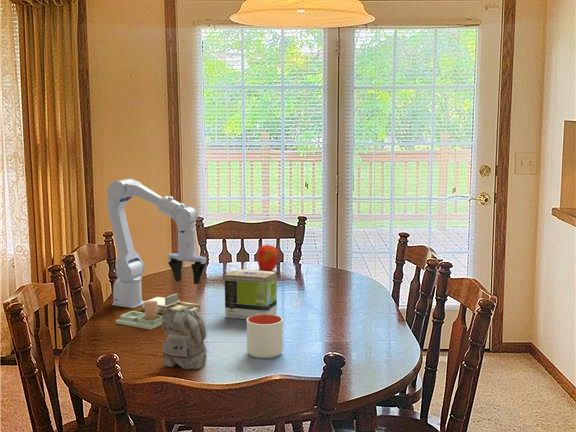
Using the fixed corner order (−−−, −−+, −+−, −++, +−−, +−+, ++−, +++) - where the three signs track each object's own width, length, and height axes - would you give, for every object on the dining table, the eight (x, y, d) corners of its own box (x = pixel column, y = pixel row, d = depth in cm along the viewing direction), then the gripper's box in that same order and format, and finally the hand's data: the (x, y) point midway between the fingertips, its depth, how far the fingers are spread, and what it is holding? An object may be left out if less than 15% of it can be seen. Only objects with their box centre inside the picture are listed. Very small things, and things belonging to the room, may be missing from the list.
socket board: (115, 323, 221) (115, 316, 220) (134, 316, 229) (134, 309, 228) (150, 329, 214) (150, 322, 214) (168, 321, 222) (168, 315, 222)
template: (142, 310, 235) (142, 305, 235) (160, 303, 244) (160, 298, 244) (183, 317, 228) (182, 311, 227) (200, 309, 236) (200, 304, 236)
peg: (142, 321, 219) (141, 303, 218) (150, 318, 223) (150, 300, 222) (152, 322, 217) (151, 304, 217) (160, 320, 221) (159, 301, 220)
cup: (246, 348, 198) (246, 314, 196) (281, 347, 198) (281, 313, 197) (247, 360, 188) (247, 325, 186) (284, 359, 189) (284, 324, 187)
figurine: (174, 355, 191) (173, 303, 189) (211, 359, 188) (211, 306, 186) (157, 368, 182) (155, 313, 180) (196, 373, 179) (195, 317, 176)
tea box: (277, 313, 232) (277, 270, 230) (266, 322, 222) (266, 277, 220) (236, 309, 237) (235, 267, 234) (224, 317, 227) (223, 274, 225)
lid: (143, 303, 236) (142, 295, 236) (157, 298, 243) (157, 289, 243) (165, 307, 232) (165, 298, 231) (180, 301, 239) (179, 293, 238)
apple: (257, 273, 290) (257, 245, 288) (256, 268, 298) (255, 241, 297) (279, 273, 290) (279, 245, 289) (277, 268, 299) (277, 241, 298)
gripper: (161, 243, 231) (162, 282, 233) (197, 246, 225) (198, 287, 227) (174, 239, 238) (175, 278, 240) (209, 243, 231) (210, 282, 233)
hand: (187, 282), depth 234 cm, fingers open, 7 cm apart
